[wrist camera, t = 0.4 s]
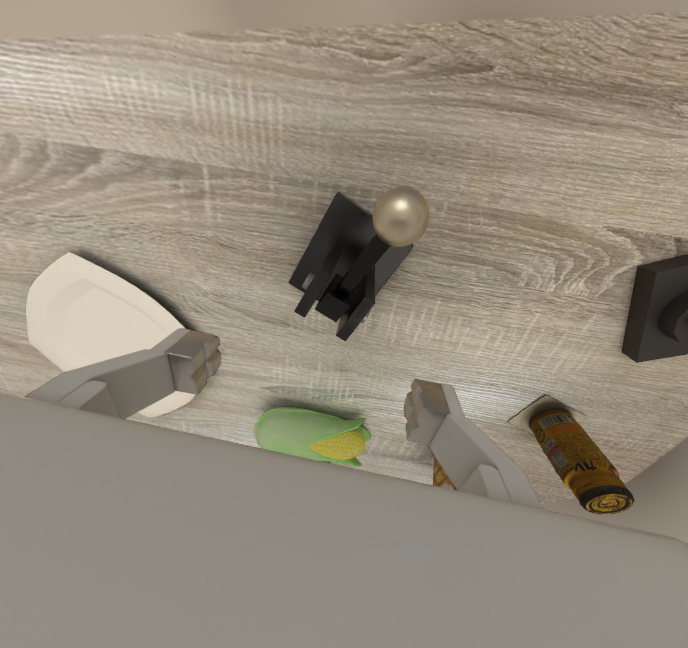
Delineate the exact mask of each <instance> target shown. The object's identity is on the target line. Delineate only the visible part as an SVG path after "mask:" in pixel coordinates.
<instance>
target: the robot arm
mask: <svg viewBox="0 0 688 648" xmlns="http://www.w3.org/2000/svg"><path fill="white" fill-rule="evenodd" d="M219 345H220V339H219V337H218V336H215V335H211V334H207V333H202V332H198V331H193V330H189V329H185V328H178V329H177V330H175V331H174V332H173V333H171V334H170V335H169V336H167V337H166V338H165V339H163V340H162V341H161V342H159V343H158V344H157V345H155V346H154V347H153V348H151V349H150V350H148V349H144V350H140V351H137V352H133V353H130V354H126V355H123V356H119V357H116V358H112V359H109V360H105V361H102V362H98V363H95V364H91V365H88V366H84V367H81V368H77V369H74V370H70V371H66V372H63V373H62V374H60V375H58V376H57V377H55V378H54V379H52V380H50V381H49V382H47V383H46V384H44V385H42V386H41V387H39V388H37V389H36V390H34V391H33V392H31V393H29V394H28V395H26V396H25V397H20V396H16V395H11V394H6V393H2V392H0V648H688V544H687V543H685V542H683V541H680V540H678V539H675V538H672V537H668V536H665V535H661V534H656V533H652V532H647V531H642V530H637V529H632V528H628V527H623V526H618V525H613V524H609V523H604V522H599V521H595V520H590V519H585V518H581V517H576V516H572V515H567V514H562V513H558V512H553V511H549V510H544V509H543V507H542V505H541V503H540V501H539V499H538V497H537V495H536V493H535V491H534V489H533V487H532V485H531V483H530V481H529V479H528V477H527V475H526V473H525V472H524V471H523V470H522V469H521V468H520V467H519V466H518V465H517V464H516V463H515V462H514V461H513V460H512V459H511V458H510V457H509V456H507V455H506V454H505V453H504V452H503V451H502V450H501V449H500V448H499V447H498V446H497V445H496V444H495V443H494V442H493V441H492V440H491V439H490V438H489V437H488V436H487V435H486V434H484V433H483V432H482V431H481V430H480V429H479V428H478V427H477V426H476V425H475V424H474V423H473V422H472V421H471V420H470V419H468V418H465V416H464V413H463V411H462V408H461V405H460V403H459V400H458V398H457V395H456V392H455V390H454V388H453V387H452V386H450V385H445V384H438V383H433V382H428V381H424V380H419V379H414V381H413V382H412V385H411V389H412V391H411V392H409V393H408V394H407V396H406V399H405V403H404V416H405V418H406V419H407V420H408V421H407V423H406V433H407V440H409V441H413V442H417V443H421V444H425V445H429V448H430V449H431V451H432V452H433V454H434V455H435V457H436V458H437V460H438V461H439V463H440V464H441V466H442V467H443V469H444V470H445V472H446V474H447V475H448V477H449V478H450V480H451V481H452V483H453V484H454V486H455V487H456V489H457V490H458V491H456V490H451V489H447V488H442V487H437V486H433V485H428V484H424V483H419V482H414V481H410V480H405V479H400V478H396V477H391V476H387V475H382V474H377V473H373V472H368V471H363V470H359V469H354V468H349V467H345V466H340V465H336V464H331V463H326V462H322V461H317V460H312V459H308V458H303V457H298V456H294V455H289V454H285V453H280V452H275V451H271V450H266V449H261V448H257V447H252V446H248V445H243V444H238V443H234V442H229V441H224V440H220V439H215V438H210V437H206V436H201V435H197V434H192V433H187V432H183V431H178V430H173V429H169V428H164V427H159V426H155V425H150V424H146V423H141V422H136V421H132V420H127V419H126V418H128V417H129V416H131V415H133V414H135V413H137V412H139V411H141V410H143V409H144V408H146V407H148V406H150V405H152V404H154V403H156V402H158V401H159V400H161V399H163V398H165V397H167V396H169V395H171V394H172V393H174V392H175V391H179V392H185V393H190V394H195V395H198V393H199V392H200V391H201V390H202V389H203V387H204V386H205V385H206V384H207V378H208V377H211V376H213V375H214V374H215V373H216V372H217V370H218V368H219V366H220V363H221V353H220V352H219V350H218V349H217V348H218V347H219Z"/></svg>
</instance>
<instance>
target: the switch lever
mask: <svg viewBox="0 0 688 648" xmlns="http://www.w3.org/2000/svg"><path fill="white" fill-rule="evenodd" d="M372 220H373V227H374V230H375V232H376V234H375V235H374V237H373V238H372V239H371V241H370V242H369V243H368V245H367V246H366V247H365V249H364V250H363V251H362V253H361V254H360V255H359V257H358V258H357V260H356V261H355V262H354V264H353V265H352V266H351V268H350V269H349V270H348V272H347V273H346V274H345V276H344V277H342V276H340V275H339V274H336V275H335V277H334V278H333V280H332V281H331V282H330V284H329V285H328V287H327V288H326V290H325V291H324V293H323V295H322V297H321V299H320V300H319V302H318V304H317V306H316V308H315V310H316V311H318V312H320V313H321V314H323V315H325V316H326V317H328V318H330V319H332V320H333V321H335V322H337V321H338V320H339V319H340V317H341V316H342V315H343V314H344V313H345V312H346V311H347V310H348V309H349V308H350V306H351V304H352V302H353V299H354V297H355V295H356V292H357V290H358V288H359V287H358V286H357V285H358V284H359V283H360V282H361V280H362V279H363V278H364V277H365V276H366V274H367V273H368V272H369V271H370V270H371V269H372V267H373V266H374V265H375V264H376V263H377V261H378V260H379V259H380V258H381V257H382V256H383V254H384V253H385V252H386V251H387V250H388V249H389V247H390V246H396V247H402V246H407V245H409V244H412V243H413V242H415V241H416V240H418V239H419V238H420V237H421V236H422V234H423V233H424V231H425V230H426V228H427V225H428V222H429V206H428V203H427V201H426V199H425V198H424V196H423V195H422V194H421V193H420V192H419V191H417V190H416V189H414V188H411V187H406V186H401V187H396V188H393V189H390V190H389V191H387V192H386V193H384V194H383V195H382V196H381V197H380V199H379V200H378V202H377V203H376V205H375V208H374V211H373V218H372Z"/></svg>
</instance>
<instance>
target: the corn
mask: <svg viewBox="0 0 688 648" xmlns="http://www.w3.org/2000/svg"><path fill="white" fill-rule="evenodd" d="M365 420H366V418H358V419H355V420H343V419H341V418H339V417H336V416H332V415H328V414H324V413H320V412H316V411H312V410H307V409H302V408H294V407H277V408H272V409H270V410H268V411H266V412H265V413H264V414H263V415H262V416H261V418H260V419H259V420H258V421H257V423H256V424H255V425H254V435H255V437H256V440H257V443H258V445H259V446H260V447H261V448H262V449H266V450H271V451H275V452H280V453H285V454H289V455H294V456H298V457H303V458H308V459H312V460H317V461H327V462H336V463H342V464H346V465H354V466H361V463H360V462H359V461H358V460H357V459H356V458H355V457H356V456H359V455H361V454H362V452H363V451H364V449H365V443H366V442H367V441H368V440H369V439H370V438H371V434H370V433H369V432H368V431H367V430H366V429H365V428H363V427H362V426H360V425H361V424H362V423H363V422H364V421H365Z"/></svg>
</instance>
